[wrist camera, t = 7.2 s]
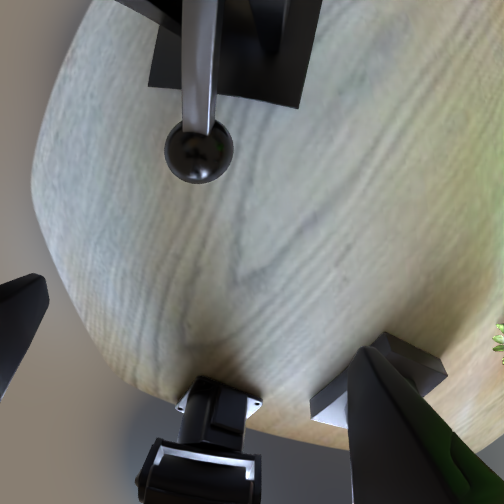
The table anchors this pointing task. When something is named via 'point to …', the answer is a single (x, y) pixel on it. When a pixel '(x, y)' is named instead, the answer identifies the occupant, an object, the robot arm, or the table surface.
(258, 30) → the bracket
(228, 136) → the lever
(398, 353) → the control block
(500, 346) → the fruit
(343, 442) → the table surface
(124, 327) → the table surface
